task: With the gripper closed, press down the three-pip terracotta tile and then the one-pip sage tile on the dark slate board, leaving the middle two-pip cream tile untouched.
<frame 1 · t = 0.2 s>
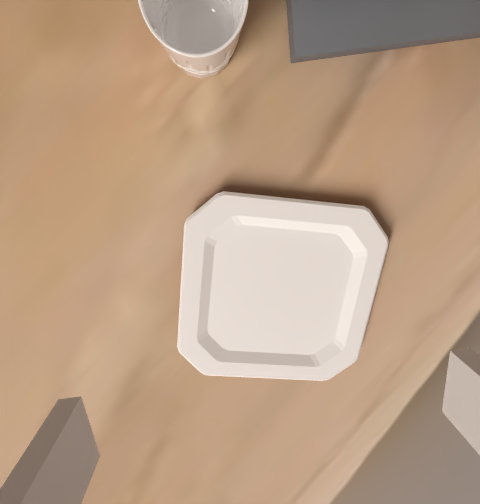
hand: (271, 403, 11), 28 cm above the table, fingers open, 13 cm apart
white cup: (201, 42, 32), on the table
plate: (276, 289, 41), on the table
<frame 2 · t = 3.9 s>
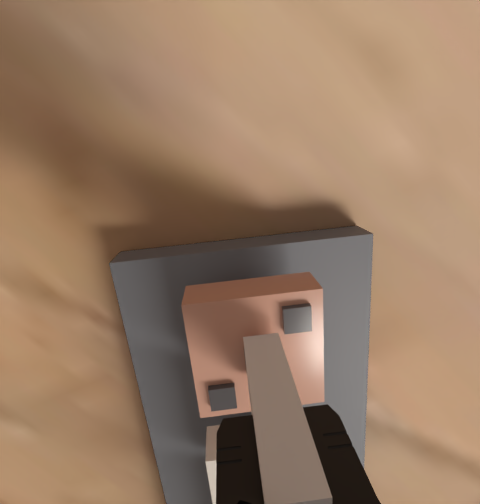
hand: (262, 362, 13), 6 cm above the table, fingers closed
tile three: (255, 346, 15), point 5 cm above the table, slide at 0.6 cm, touching gripper
board: (256, 401, 22), on the table
tile two: (269, 480, 17), point 6 cm above the table, slide at 0.0 cm
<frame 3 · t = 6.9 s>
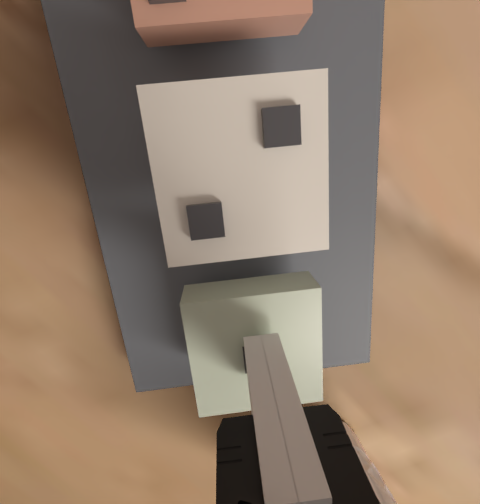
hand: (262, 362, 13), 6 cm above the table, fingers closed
tile one: (254, 345, 15), point 5 cm above the table, slide at 1.0 cm, touching gripper
white cup: (312, 447, 23), on the table
board: (232, 167, 17), on the table
tile two: (240, 173, 11), point 6 cm above the table, slide at 0.0 cm
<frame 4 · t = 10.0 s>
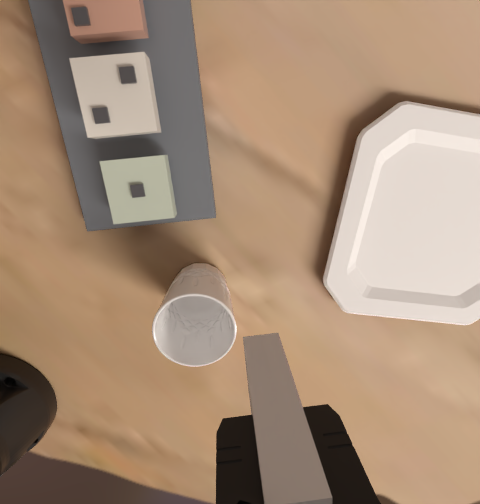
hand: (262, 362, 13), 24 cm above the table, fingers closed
tile one: (140, 189, 30), point 4 cm above the table, slide at 1.5 cm
white cup: (200, 286, 39), on the table
board: (134, 106, 32), on the table
plate: (427, 223, 38), on the table
tile two: (118, 97, 27), point 6 cm above the table, slide at 0.0 cm
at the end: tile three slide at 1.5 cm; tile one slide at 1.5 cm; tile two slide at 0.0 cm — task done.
